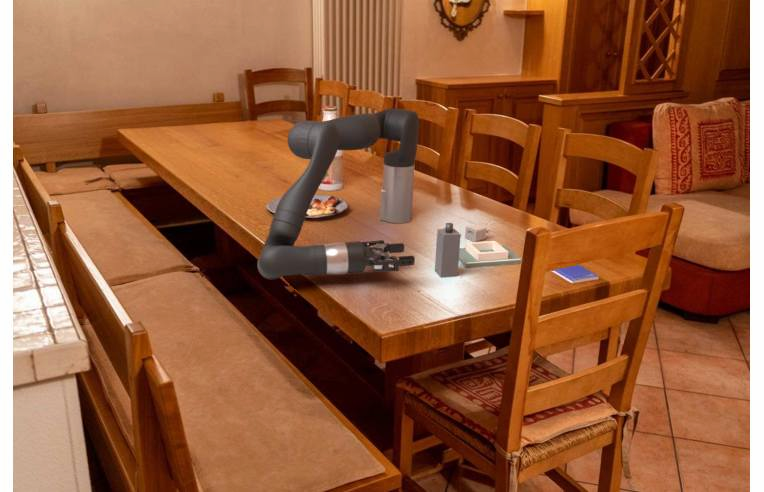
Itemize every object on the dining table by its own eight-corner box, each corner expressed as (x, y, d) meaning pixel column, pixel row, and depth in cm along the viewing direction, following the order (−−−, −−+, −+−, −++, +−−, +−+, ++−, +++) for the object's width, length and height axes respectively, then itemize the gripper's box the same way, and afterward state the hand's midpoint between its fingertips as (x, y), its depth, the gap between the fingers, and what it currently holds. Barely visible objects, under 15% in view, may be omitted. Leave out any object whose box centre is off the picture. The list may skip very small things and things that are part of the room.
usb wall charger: (464, 239, 196) (465, 225, 194) (481, 234, 200) (482, 221, 198) (475, 243, 193) (476, 229, 191) (491, 238, 197) (492, 225, 196)
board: (465, 267, 175) (466, 256, 174) (450, 252, 185) (451, 241, 184) (522, 263, 179) (524, 252, 178) (504, 248, 189) (506, 238, 188)
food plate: (356, 203, 224) (356, 192, 223) (337, 226, 202) (337, 214, 201) (283, 198, 229) (282, 188, 227) (257, 220, 207) (256, 209, 206)
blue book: (599, 275, 171) (567, 257, 182) (572, 279, 168) (542, 261, 178) (598, 281, 172) (567, 263, 182) (571, 285, 168) (541, 267, 179)
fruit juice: (344, 191, 237) (345, 109, 227) (316, 191, 235) (316, 109, 225) (341, 184, 245) (342, 104, 236) (314, 184, 244) (314, 104, 234)
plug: (440, 277, 169) (444, 227, 164) (434, 270, 173) (437, 221, 168) (458, 276, 170) (462, 226, 165) (452, 269, 174) (455, 220, 169)
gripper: (350, 254, 155) (418, 249, 159) (337, 233, 168) (401, 229, 172) (349, 284, 157) (417, 279, 162) (337, 261, 170) (399, 257, 174)
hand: (408, 253), depth 167 cm, fingers open, 8 cm apart
